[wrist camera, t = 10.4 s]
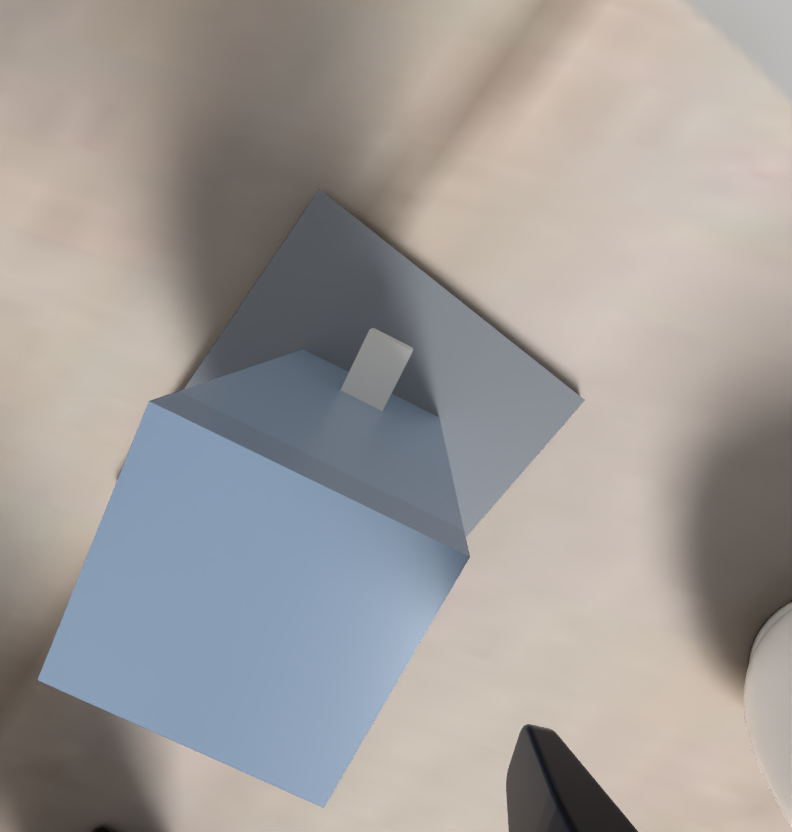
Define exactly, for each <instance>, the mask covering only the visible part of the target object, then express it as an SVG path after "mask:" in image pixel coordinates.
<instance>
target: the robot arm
mask: <svg viewBox="0 0 792 832" xmlns="http://www.w3.org/2000/svg"><path fill="white" fill-rule="evenodd" d="M506 793H507V809H508V825H509V832H638V831H637V830H636V829H635V827H634V826H633V825H632V824H631V823H630V821H629V820H628V819H627V818H626V816H625V815H624V814H623V813H622V812H621V810H620V809H619V808H618V807H617V806H616V804H615V803H614V802H613V801H612V800H611V798H610V797H609V796H608V795H607V794H606V792H605V791H604V790H603V789H602V788H601V786H600V785H599V784H598V783H597V782H596V780H595V779H594V778H593V777H592V776H591V774H590V773H589V772H588V771H587V770H586V768H585V767H584V766H583V765H582V764H581V762H580V761H579V760H578V759H577V758H576V756H575V755H574V754H573V753H572V752H571V750H570V749H569V748H568V747H567V745H566V744H565V743H564V742H563V741H562V739H561V738H560V737H559V736H558V735H557V734H556V733H555V732H554V731H553V730H551V729H548V728H544V727H539V726H535V725H531V724H527V725H525V726H524V727H523V728H522V729H521V732H520V734H519V737H518V740H517V743H516V746H515V750H514V753H513V756H512V759H511V762H510V765H509V768H508V773H507V780H506ZM92 832H110V831H108V830H107V829H104V828H95V829H94V830H92Z"/></svg>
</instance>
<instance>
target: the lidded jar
mask: <svg viewBox="0 0 792 832" xmlns="http://www.w3.org/2000/svg"><path fill="white" fill-rule="evenodd" d="M744 717H745V722H746V727H747V732H748V736H749V740H750V744H751V748H752V751H753V753H754V756H755V758H756V761H757V763H758V766H759V768H760V770H761V773H762V775H763V777H764V779H765V781H766V784H767V786H768V788H769V790H770V792H771V794H772V796H773V797H774V799H775V801H776V803H777V804H778V806H779V808H780V810H781V811H782V813H783V815H784V817H785V818H786V820H787V822H788V823H789V825H790V826H791V828H792V602H790V603H788V604H786V605H785V606H783V607H782V608H781V609H779V610H778V611H776V612H775V613H774V614H773V615H772V616H771V617H770V618H769V619H768V620H767V621H766V623H765V624H764V625H763V626H762V628H761V629H760V631H759V632H758V634H757V636H756V638H755V640H754V643H753V645H752V648H751V652H750V658H749V666H748V670H747V674H746V679H745V684H744Z"/></svg>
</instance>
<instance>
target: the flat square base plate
mask: <svg viewBox="0 0 792 832" xmlns="http://www.w3.org/2000/svg"><path fill="white" fill-rule="evenodd" d="M372 328H375V329H377V330H379V331H381V332H383V333H385V334H387V335H389V336H391V337H393V338H395V339H397V340H399V341H401V342H403V343H405V344H407V345H409V346H411V347H413V352H412V354H411V356H410V358H409V360H408V362H407V364H406V366H405V368H404V370H403V372H402V374H401V376H400V378H399V380H398V381H397V383H396V385H395V387H394V389H393V391H392V394H394V395H396V396H398V397H400V398H402V399H404V400H406V401H408V402H410V403H412V404H414V405H416V406H418V407H420V408H422V409H424V410H426V411H428V412H430V413H432V414H434V415H436V416H438V417H439V418H440V422H441V427H442V431H443V436H444V441H445V445H446V450H447V454H448V459H449V463H450V468H451V473H452V477H453V482H454V486H455V491H456V496H457V500H458V505H459V509H460V514H461V519H462V523H463V528H464V532H465V537H467V536H468V534H469V533H470V532H471V531H472V530H473V529H474V527H475V526H476V525H477V524H478V523H479V522H480V521H481V519H482V518H483V517H484V516H485V515H486V514H487V512H488V511H489V510H490V509H491V508H492V507H493V506H494V504H495V503H496V502H497V501H498V500H499V499H500V497H501V496H502V495H503V494H504V493H505V492H506V491H507V489H508V488H509V487H510V486H511V485H512V484H513V482H514V481H515V480H516V479H517V478H518V477H519V476H520V474H521V473H522V472H523V471H524V470H525V469H526V467H527V466H528V465H529V464H530V463H531V462H532V461H533V459H534V458H535V457H536V456H537V455H538V454H539V452H540V451H541V450H542V449H543V448H544V447H545V446H546V444H547V443H548V442H549V441H550V440H551V439H552V437H553V436H554V435H555V434H556V433H557V432H558V431H559V429H560V428H561V427H562V426H563V425H564V424H565V422H566V421H567V420H568V419H569V418H570V417H571V416H572V414H573V413H574V412H575V411H576V410H577V409H578V407H579V406H580V405H581V404H582V403H583V402H584V401H585V400H584V399H583V398H582V397H580V396H579V395H578V394H577V393H575V392H574V391H573V390H572V389H570V388H569V387H568V386H566V385H565V384H564V383H563V382H561V381H560V380H559V379H558V378H556V377H555V376H554V375H553V374H551V373H550V372H549V371H548V370H546V369H545V368H544V367H543V366H541V365H540V364H539V363H538V362H536V361H535V360H534V359H533V358H531V357H530V356H529V355H528V354H526V353H525V352H524V351H522V350H521V349H520V348H519V347H517V346H516V345H515V344H514V343H512V342H511V341H510V340H509V339H507V338H506V337H505V336H504V335H502V334H501V333H500V332H499V331H497V330H496V329H495V328H494V327H492V326H491V325H490V324H489V323H487V322H486V321H485V320H484V319H482V318H481V317H480V316H479V315H477V314H476V313H475V312H473V311H472V310H471V309H470V308H468V307H467V306H466V305H465V304H463V303H462V302H461V301H460V300H458V299H457V298H456V297H455V296H453V295H452V294H451V293H450V292H448V291H447V290H446V289H445V288H443V287H442V286H441V285H440V284H438V283H437V282H436V281H435V280H433V279H432V278H431V277H430V276H428V275H427V274H426V273H424V272H423V271H422V270H421V269H419V268H418V267H417V266H416V265H414V264H413V263H412V262H411V261H409V260H408V259H407V258H406V257H404V256H403V255H402V254H401V253H399V252H398V251H397V250H396V249H394V248H393V247H392V246H391V245H389V244H388V243H387V242H386V241H384V240H383V239H382V238H380V237H379V236H378V235H377V234H375V233H374V232H373V231H372V230H370V229H369V228H368V227H367V226H365V225H364V224H363V223H362V222H360V221H359V220H358V219H357V218H355V217H354V216H353V215H352V214H350V213H349V212H348V211H347V210H345V209H344V208H343V207H342V206H340V205H339V204H338V203H337V202H335V201H334V200H333V199H331V198H330V197H329V196H328V195H326V194H325V193H324V192H323V191H321V190H320V189H319V191H318V192H317V194H316V195H315V197H314V198H313V200H312V201H311V202H310V204H309V205H308V207H307V208H306V210H305V211H304V213H303V214H302V216H301V217H300V219H299V220H298V222H297V223H296V225H295V226H294V228H293V229H292V230H291V232H290V233H289V235H288V236H287V238H286V239H285V241H284V242H283V244H282V245H281V247H280V248H279V250H278V251H277V253H276V254H275V256H274V257H273V258H272V260H271V261H270V263H269V264H268V266H267V267H266V269H265V270H264V272H263V273H262V275H261V276H260V278H259V279H258V281H257V282H256V284H255V285H254V287H253V288H252V289H251V291H250V292H249V294H248V295H247V297H246V298H245V300H244V301H243V303H242V304H241V306H240V307H239V309H238V310H237V312H236V313H235V315H234V316H233V317H232V319H231V320H230V322H229V323H228V325H227V326H226V328H225V329H224V331H223V332H222V334H221V335H220V337H219V338H218V340H217V341H216V343H215V344H214V345H213V347H212V348H211V350H210V351H209V353H208V354H207V356H206V357H205V359H204V360H203V362H202V363H201V365H200V366H199V368H198V369H197V371H196V372H195V373H194V375H193V376H192V378H191V379H190V381H189V382H188V384H187V385H186V387H185V388H184V389H187V388H190V387H193V386H196V385H199V384H201V383H204V382H207V381H210V380H213V379H216V378H219V377H222V376H225V375H228V374H231V373H234V372H237V371H240V370H243V369H246V368H249V367H252V366H255V365H258V364H261V363H264V362H267V361H270V360H273V359H276V358H279V357H282V356H285V355H288V354H291V353H294V352H297V351H300V350H303V349H304V350H306V351H308V352H310V353H312V354H314V355H316V356H318V357H320V358H322V359H324V360H326V361H328V362H330V363H332V364H334V365H336V366H338V367H340V368H342V369H344V370H346V371H348V372H349V371H350V369H351V367H352V365H353V363H354V361H355V359H356V357H357V355H358V352H359V350H360V348H361V346H362V344H363V342H364V340H365V338H366V336H367V334H368V332H369V330H370V329H372Z"/></svg>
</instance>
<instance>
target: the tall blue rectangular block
mask: <svg viewBox="0 0 792 832" xmlns="http://www.w3.org/2000/svg"><path fill="white" fill-rule="evenodd" d="M412 352H413V347H411V346H409V345H407V344H405V343H403V342H401V341H399V340H397V339H395V338H393V337H391V336H389V335H387V334H385V333H383V332H381V331H379V330H377V329H375V328H372V329H370V330H369V332H368V334H367V336H366V338H365V340H364V342H363V344H362V346H361V348H360V350H359V352H358V355H357V357H356V359H355V361H354V363H353V365H352V367H351V369H350V371H349V372H348V371H346V370H344V369H342V368H340V367H338V366H336V365H334V364H332V363H330V362H328V361H326V360H324V359H322V358H320V357H318V356H316V355H314V354H312V353H310V352H308V351H306V350H304V349H303V350H300V351H297V352H294V353H291V354H288V355H285V356H282V357H279V358H276V359H273V360H270V361H267V362H264V363H261V364H258V365H255V366H252V367H249V368H246V369H243V370H240V371H237V372H234V373H231V374H228V375H225V376H222V377H219V378H216V379H213V380H210V381H207V382H204V383H201V384H199V385H196V386H193V387H190V388H187V389H184V390H181V391H178V392H175V393H172V394H169V395H166V396H163V397H160V398H157V399H154V400H151V401H149V403H148V405H147V408H146V410H145V413H144V415H143V418H142V420H141V423H140V425H139V428H138V430H137V433H136V435H135V438H134V440H133V443H132V445H131V448H130V450H129V453H128V455H127V458H126V460H125V463H124V465H123V468H122V470H121V473H120V475H119V478H118V480H117V483H116V485H115V488H114V490H113V493H112V495H111V498H110V500H109V503H108V505H107V507H106V510H105V512H104V515H103V517H102V520H101V522H100V525H99V527H98V530H97V532H96V535H95V537H94V540H93V542H92V545H91V547H90V550H89V552H88V555H87V557H86V560H85V562H84V565H83V567H82V570H81V572H80V575H79V577H78V580H77V582H76V585H75V587H74V590H73V592H72V595H71V597H70V600H69V602H68V605H67V607H66V610H65V612H64V615H63V617H62V620H61V622H60V625H59V627H58V630H57V632H56V635H55V637H54V640H53V642H52V645H51V647H50V650H49V652H48V655H47V657H46V660H45V662H44V665H43V667H42V670H41V672H40V675H39V677H38V681H40V682H43V683H45V684H47V685H49V686H52V687H54V688H56V689H58V690H61V691H63V692H65V693H67V694H69V695H72V696H74V697H76V698H78V699H81V700H83V701H85V702H87V703H90V704H92V705H94V706H96V707H99V708H101V709H103V710H105V711H108V712H110V713H112V714H114V715H117V716H119V717H121V718H123V719H126V720H128V721H130V722H132V723H134V724H137V725H139V726H141V727H143V728H146V729H148V730H150V731H152V732H155V733H157V734H159V735H161V736H164V737H166V738H168V739H170V740H173V741H175V742H177V743H179V744H182V745H184V746H186V747H188V748H191V749H193V750H195V751H197V752H199V753H202V754H204V755H206V756H208V757H211V758H213V759H215V760H217V761H220V762H222V763H224V764H226V765H229V766H231V767H233V768H235V769H238V770H240V771H242V772H244V773H247V774H249V775H251V776H253V777H256V778H258V779H260V780H262V781H264V782H267V783H269V784H271V785H273V786H276V787H278V788H280V789H282V790H285V791H287V792H289V793H291V794H294V795H296V796H298V797H300V798H303V799H305V800H307V801H309V802H312V803H314V804H316V805H318V806H321V807H323V808H324V807H325V805H326V803H327V802H328V800H329V798H330V797H331V795H332V793H333V791H334V790H335V788H336V786H337V784H338V783H339V781H340V779H341V778H342V776H343V774H344V772H345V771H346V769H347V767H348V766H349V764H350V762H351V760H352V759H353V757H354V755H355V754H356V752H357V750H358V748H359V747H360V745H361V743H362V741H363V740H364V738H365V736H366V735H367V733H368V731H369V729H370V728H371V726H372V724H373V723H374V721H375V719H376V717H377V716H378V714H379V712H380V710H381V709H382V707H383V705H384V704H385V702H386V700H387V698H388V697H389V695H390V693H391V692H392V690H393V688H394V686H395V685H396V683H397V681H398V680H399V678H400V676H401V674H402V673H403V671H404V669H405V667H406V666H407V664H408V662H409V661H410V659H411V657H412V655H413V654H414V652H415V650H416V649H417V647H418V645H419V643H420V642H421V640H422V638H423V637H424V635H425V633H426V631H427V630H428V628H429V626H430V624H431V623H432V621H433V619H434V618H435V616H436V614H437V612H438V611H439V609H440V607H441V606H442V604H443V602H444V600H445V599H446V597H447V595H448V594H449V592H450V590H451V588H452V587H453V585H454V583H455V581H456V580H457V578H458V576H459V575H460V573H461V571H462V569H463V568H464V566H465V564H466V563H467V561H468V559H469V557H470V555H469V551H468V546H467V541H466V537H465V532H464V528H463V523H462V519H461V514H460V509H459V505H458V500H457V496H456V491H455V486H454V482H453V477H452V473H451V468H450V463H449V459H448V454H447V450H446V445H445V441H444V436H443V431H442V427H441V422H440V418H439V417H438V416H436V415H434V414H432V413H430V412H428V411H426V410H424V409H422V408H420V407H418V406H416V405H414V404H412V403H410V402H408V401H406V400H404V399H402V398H400V397H398V396H396V395H394V394H392V391H393V389H394V387H395V385H396V383H397V381H398V380H399V378H400V376H401V374H402V372H403V370H404V368H405V366H406V364H407V362H408V360H409V358H410V356H411V354H412Z"/></svg>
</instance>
